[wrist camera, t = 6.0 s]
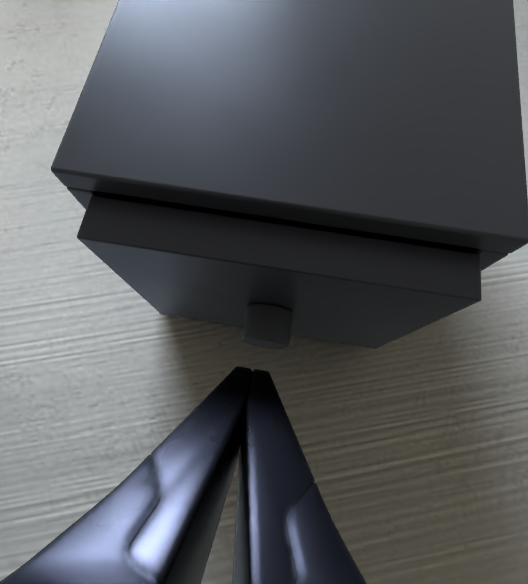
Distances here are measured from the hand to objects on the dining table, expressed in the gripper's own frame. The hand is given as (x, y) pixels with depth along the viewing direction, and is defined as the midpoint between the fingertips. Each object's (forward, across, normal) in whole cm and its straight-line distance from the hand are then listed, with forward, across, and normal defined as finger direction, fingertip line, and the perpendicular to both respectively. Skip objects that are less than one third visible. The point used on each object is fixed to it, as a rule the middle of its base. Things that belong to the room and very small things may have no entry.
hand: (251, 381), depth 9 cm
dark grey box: (+12, 0, -2) cm, 12 cm away
